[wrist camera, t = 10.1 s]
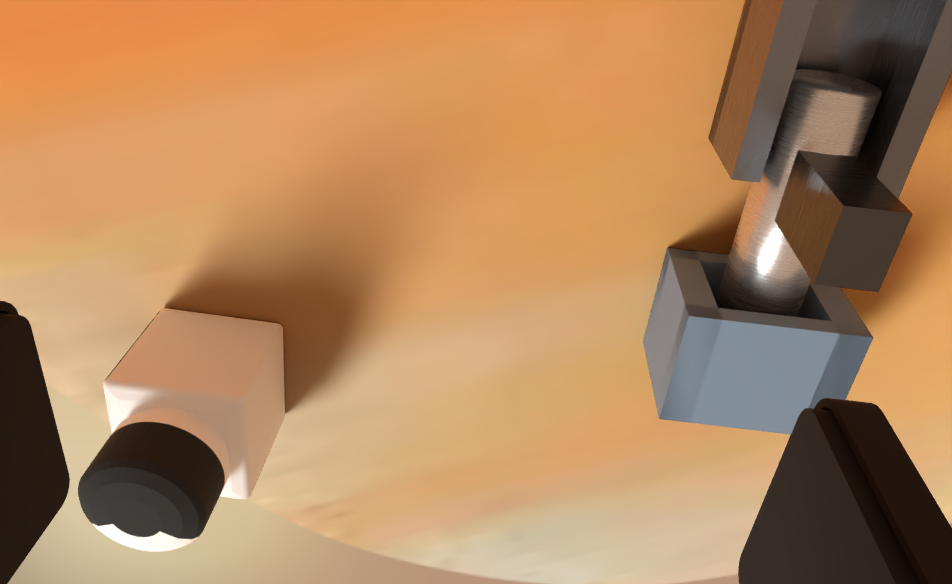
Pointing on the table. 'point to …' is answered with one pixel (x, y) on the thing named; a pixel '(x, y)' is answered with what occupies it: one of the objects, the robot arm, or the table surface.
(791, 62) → the sleeve
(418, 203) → the table surface
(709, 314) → the socket block
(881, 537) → the robot arm
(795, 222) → the sliding bolt
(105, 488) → the medicine bottle
